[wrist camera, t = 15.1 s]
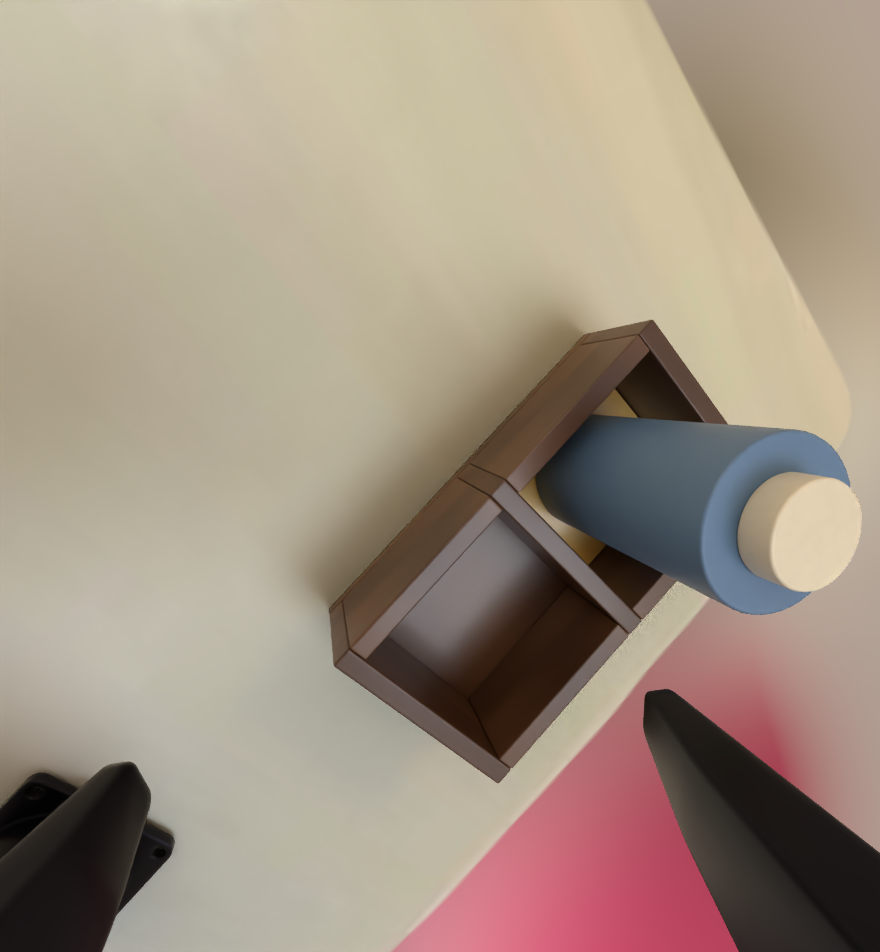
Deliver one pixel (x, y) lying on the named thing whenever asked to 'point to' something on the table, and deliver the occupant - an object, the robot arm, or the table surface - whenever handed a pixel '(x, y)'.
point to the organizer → (512, 568)
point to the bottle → (710, 504)
